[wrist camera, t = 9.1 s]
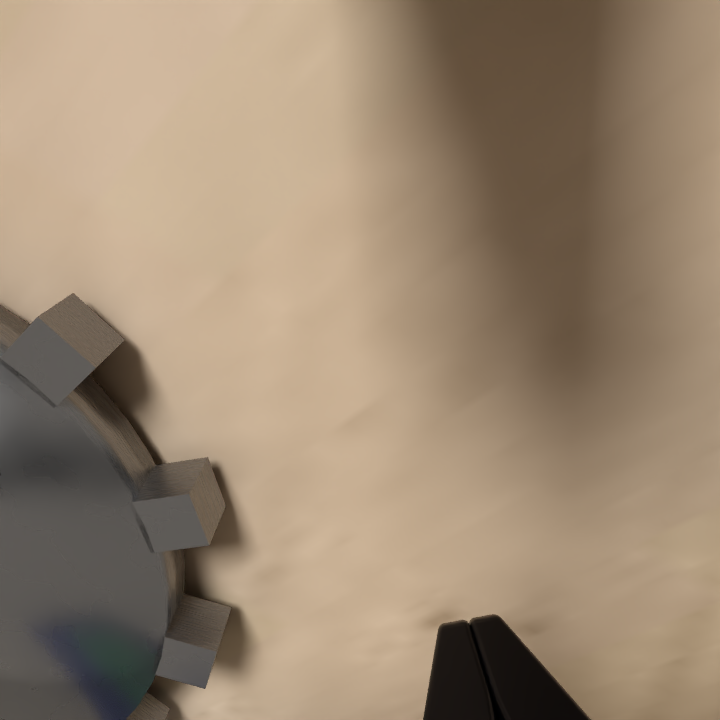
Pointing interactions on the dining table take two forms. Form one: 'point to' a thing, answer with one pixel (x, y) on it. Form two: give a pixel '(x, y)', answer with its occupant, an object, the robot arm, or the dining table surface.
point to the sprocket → (92, 536)
